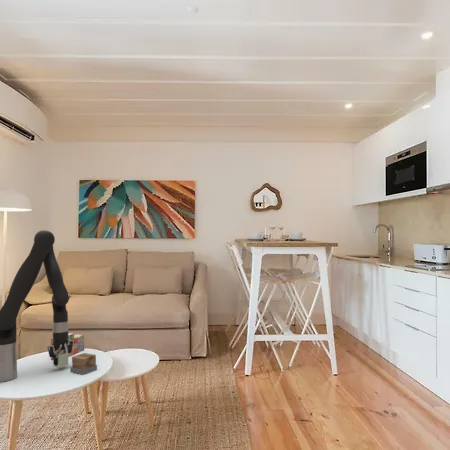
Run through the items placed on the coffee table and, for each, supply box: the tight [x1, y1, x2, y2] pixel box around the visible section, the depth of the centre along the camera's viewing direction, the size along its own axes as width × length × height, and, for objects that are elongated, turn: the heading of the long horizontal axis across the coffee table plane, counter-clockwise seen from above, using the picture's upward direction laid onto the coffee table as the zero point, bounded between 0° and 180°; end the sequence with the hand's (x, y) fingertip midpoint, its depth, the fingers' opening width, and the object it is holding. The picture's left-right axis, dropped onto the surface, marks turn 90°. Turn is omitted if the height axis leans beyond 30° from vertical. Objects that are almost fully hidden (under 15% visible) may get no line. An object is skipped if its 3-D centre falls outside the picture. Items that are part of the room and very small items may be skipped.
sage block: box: [52, 352, 69, 368], centre depth 212 cm, size 5×5×6 cm
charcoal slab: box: [69, 364, 98, 376], centre depth 208 cm, size 9×9×3 cm
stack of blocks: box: [50, 332, 85, 361], centre depth 238 cm, size 21×6×12 cm, turn 163°
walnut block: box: [71, 352, 97, 370], centre depth 208 cm, size 8×8×5 cm
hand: (60, 363), depth 212 cm, fingers closed on sage block, 5 cm apart
